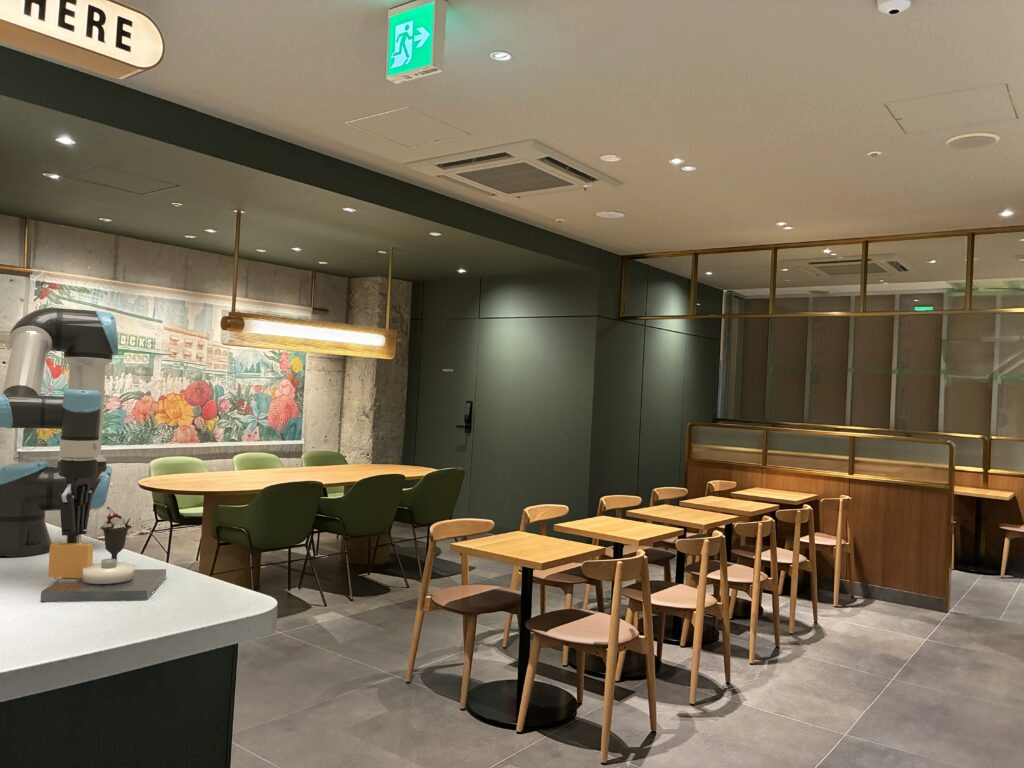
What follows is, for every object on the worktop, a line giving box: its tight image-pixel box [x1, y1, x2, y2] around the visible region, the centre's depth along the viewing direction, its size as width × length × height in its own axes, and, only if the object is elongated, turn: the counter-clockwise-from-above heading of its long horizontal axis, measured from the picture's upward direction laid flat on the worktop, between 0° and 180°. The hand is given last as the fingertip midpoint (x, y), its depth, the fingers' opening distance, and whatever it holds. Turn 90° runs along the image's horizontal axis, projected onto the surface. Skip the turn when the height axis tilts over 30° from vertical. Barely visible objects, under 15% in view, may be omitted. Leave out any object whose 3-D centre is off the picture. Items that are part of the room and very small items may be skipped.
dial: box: [47, 542, 135, 584], centre depth 169 cm, size 17×10×7 cm, turn 95°
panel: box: [40, 568, 167, 603], centre depth 169 cm, size 20×20×2 cm
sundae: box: [100, 506, 132, 560], centre depth 189 cm, size 7×7×15 cm
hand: (72, 564), depth 172 cm, fingers closed
